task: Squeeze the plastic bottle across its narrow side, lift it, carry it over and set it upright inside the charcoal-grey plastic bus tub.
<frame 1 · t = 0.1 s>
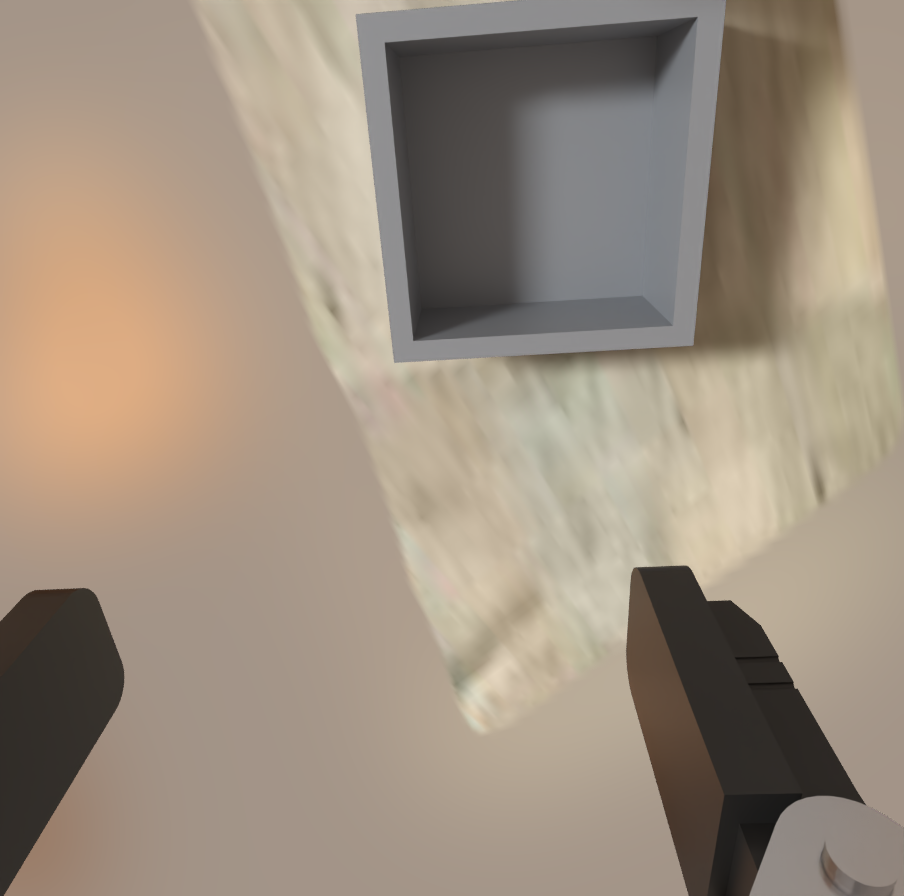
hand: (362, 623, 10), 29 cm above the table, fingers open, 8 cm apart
bus tub: (527, 183, 34), on the table
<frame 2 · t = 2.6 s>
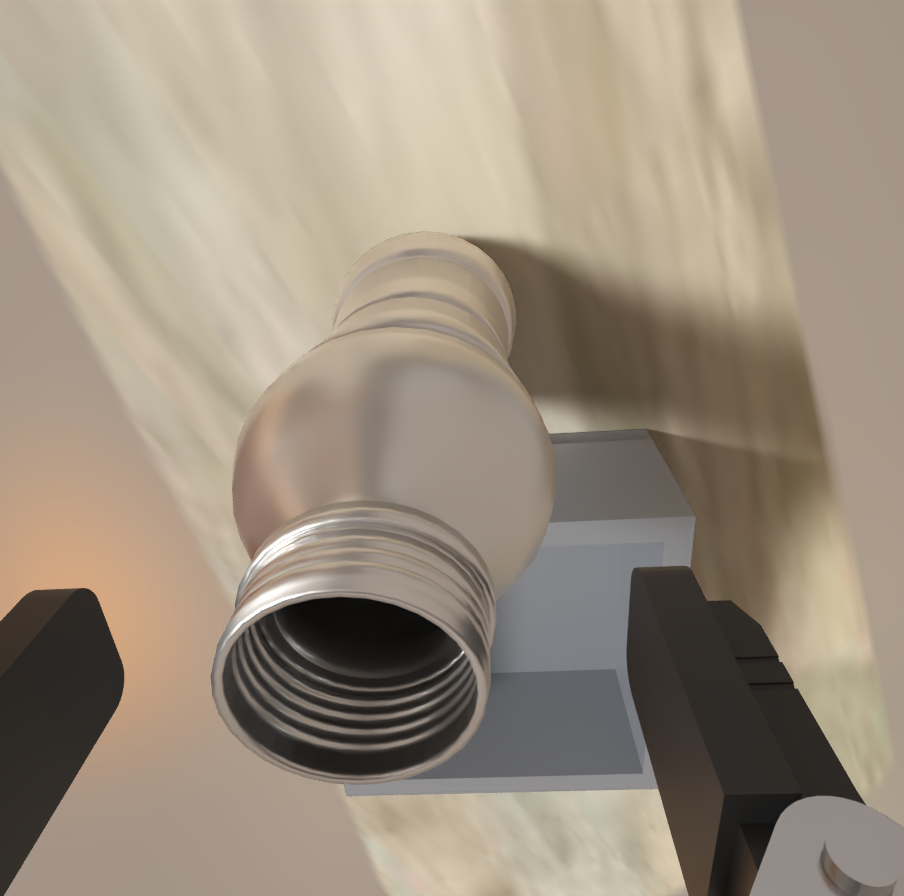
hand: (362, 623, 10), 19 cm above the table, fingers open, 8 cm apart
bus tub: (492, 566, 32), on the table
plastic bottle: (429, 304, 27), on the table
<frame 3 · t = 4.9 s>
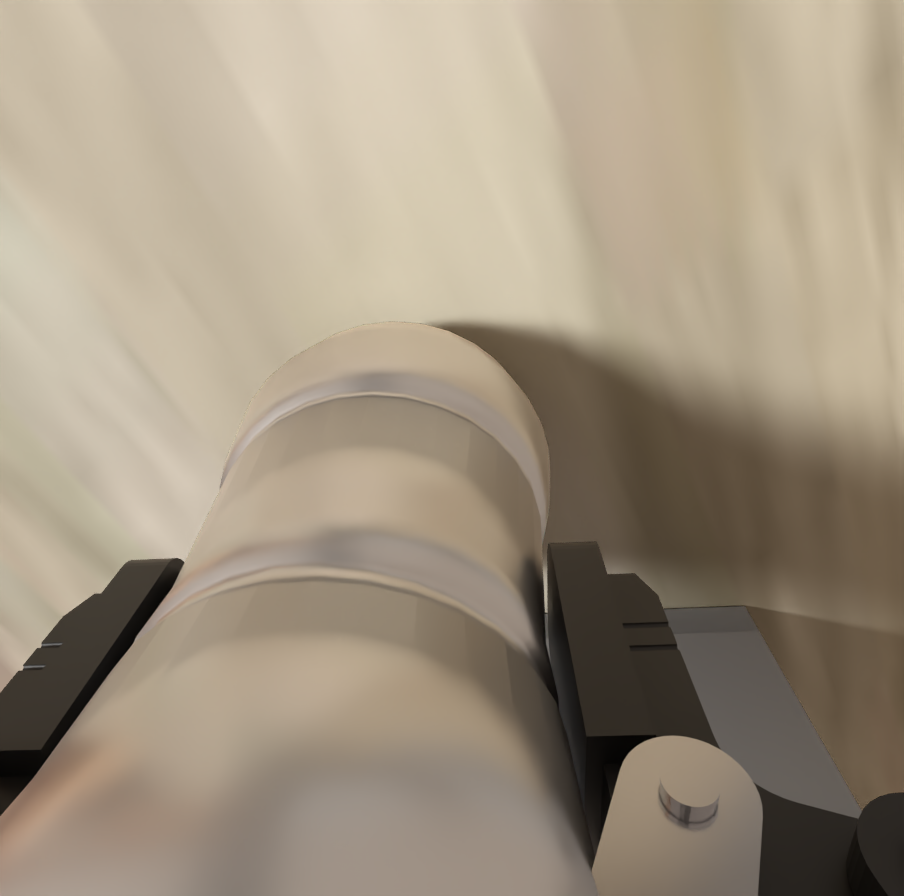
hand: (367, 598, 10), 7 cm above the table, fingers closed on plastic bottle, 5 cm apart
bus tub: (502, 781, 22), on the table
plastic bottle: (404, 424, 16), on the table, touching gripper
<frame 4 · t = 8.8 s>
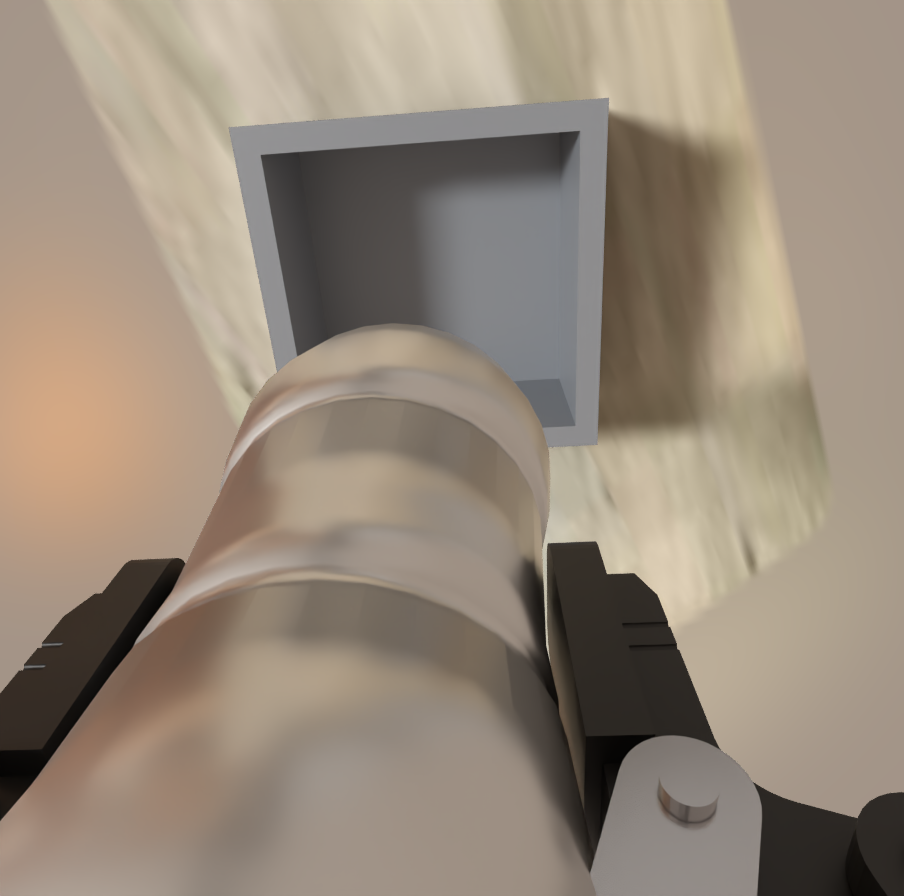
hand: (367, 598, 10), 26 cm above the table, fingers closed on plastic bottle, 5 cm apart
bus tub: (438, 267, 34), on the table
plastic bottle: (404, 425, 16), point 19 cm above the table, touching gripper
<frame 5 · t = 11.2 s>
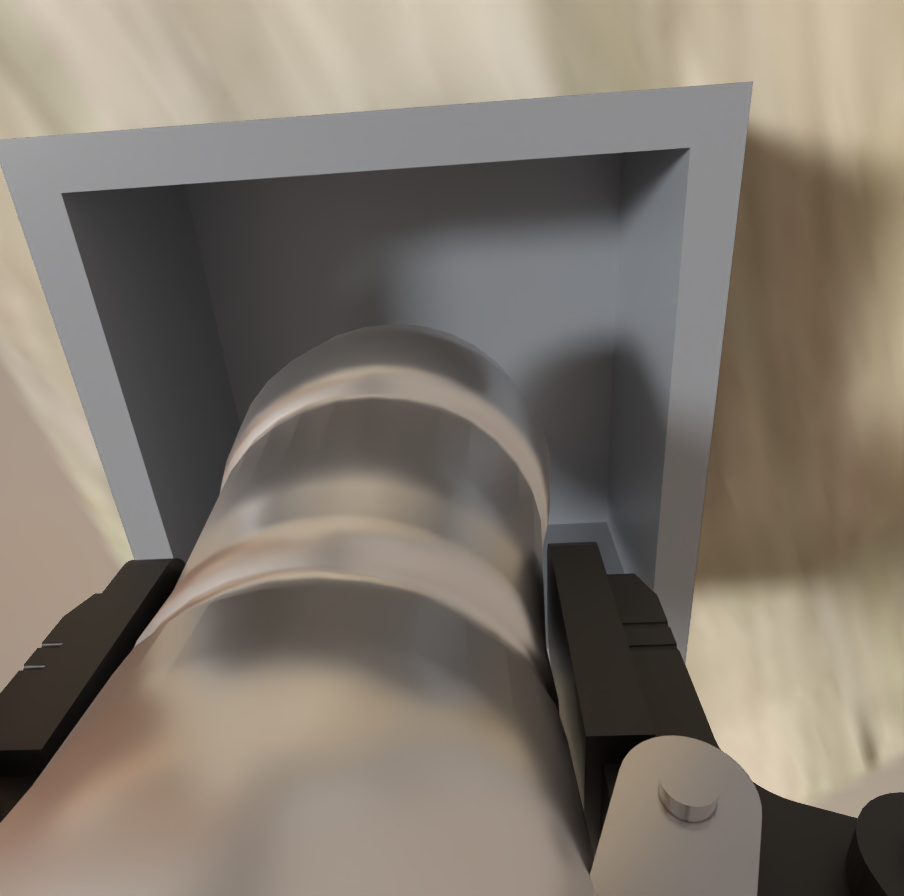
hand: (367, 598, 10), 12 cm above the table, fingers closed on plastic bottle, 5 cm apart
bus tub: (420, 356, 21), on the table
plastic bottle: (404, 426, 16), point 5 cm above the table, touching gripper
when the fingers open (9 cm above the table, at t = 12.9 s): plastic bottle drops 1 cm, resting on bus tub.
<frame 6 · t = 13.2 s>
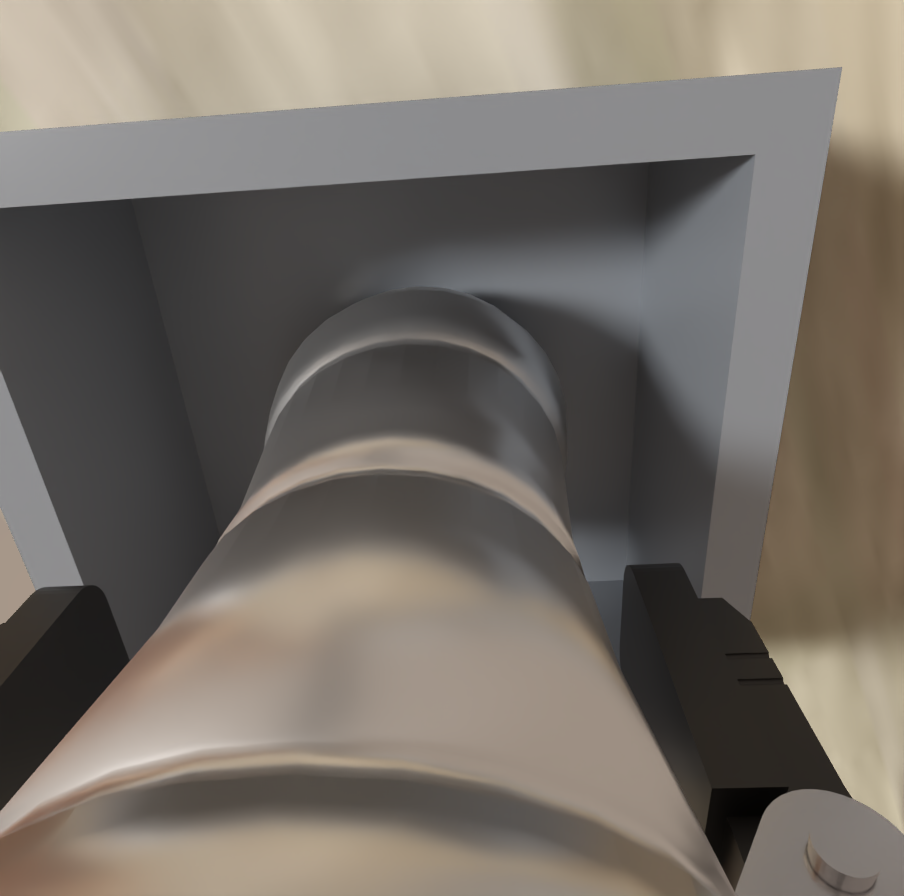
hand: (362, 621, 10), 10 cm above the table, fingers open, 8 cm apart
bus tub: (411, 393, 19), on the table
plastic bottle: (426, 388, 18), point 1 cm above the table, touching bus tub
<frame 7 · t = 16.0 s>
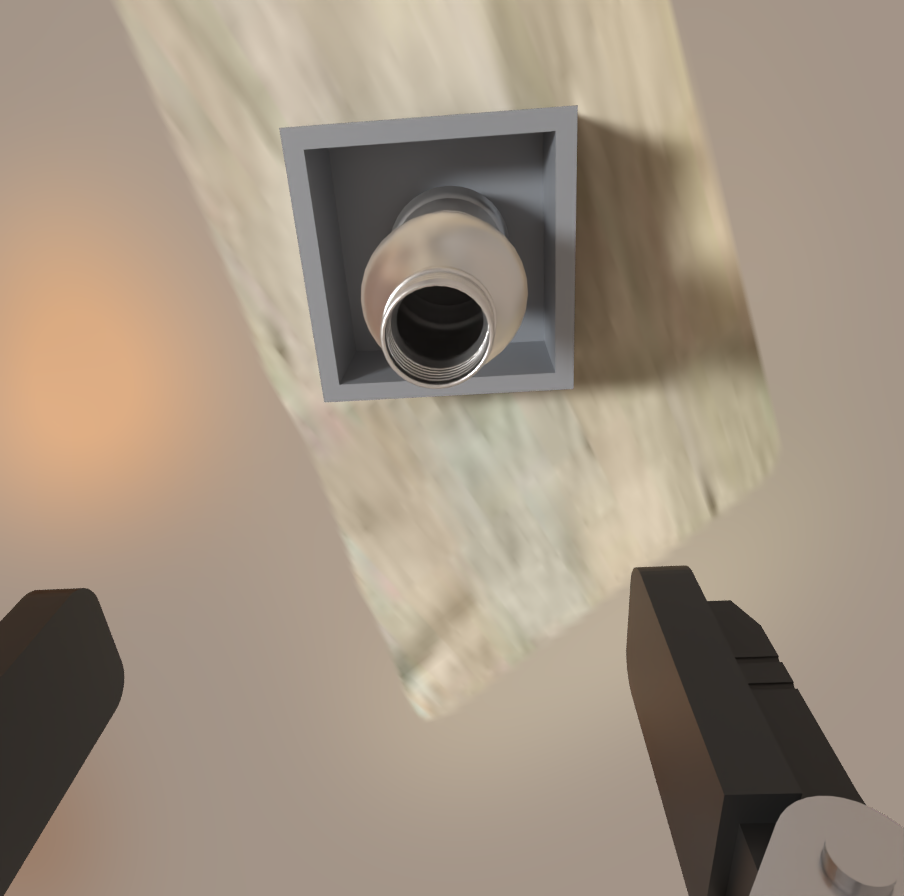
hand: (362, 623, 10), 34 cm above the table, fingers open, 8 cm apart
bus tub: (443, 246, 40), on the table
plastic bottle: (450, 240, 39), point 1 cm above the table, touching bus tub
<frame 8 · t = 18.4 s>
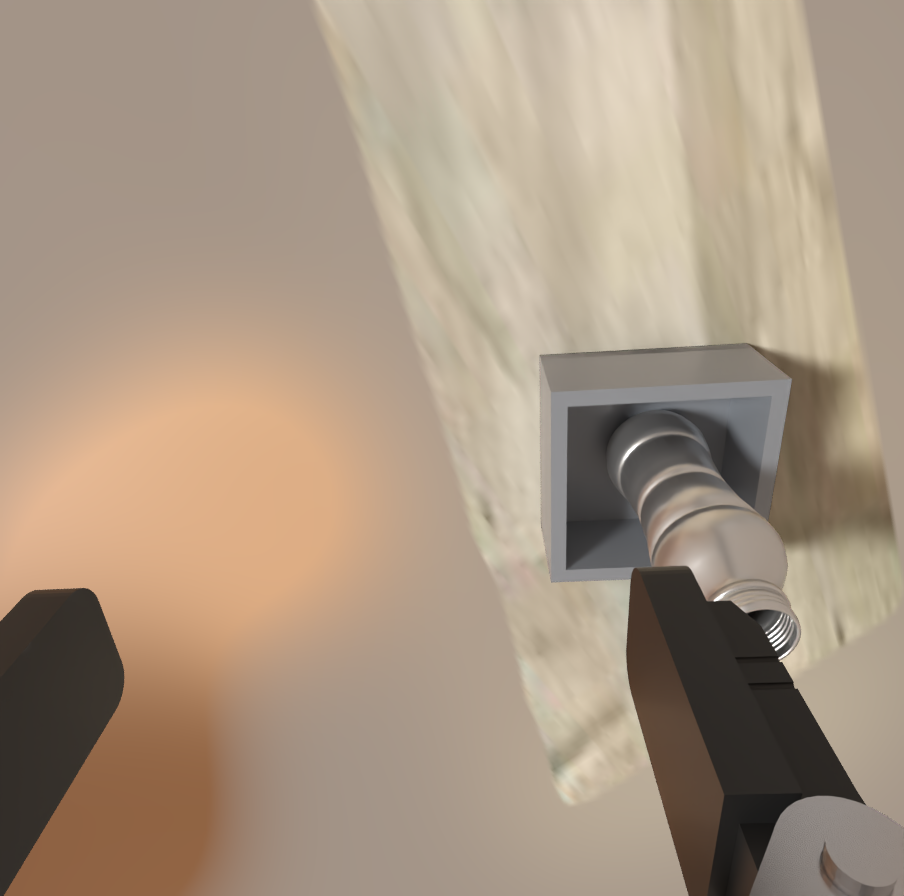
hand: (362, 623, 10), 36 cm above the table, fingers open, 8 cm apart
bus tub: (636, 441, 48), on the table
plastic bottle: (646, 440, 47), point 1 cm above the table, touching bus tub
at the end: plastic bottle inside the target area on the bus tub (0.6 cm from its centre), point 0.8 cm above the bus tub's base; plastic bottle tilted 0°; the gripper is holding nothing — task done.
